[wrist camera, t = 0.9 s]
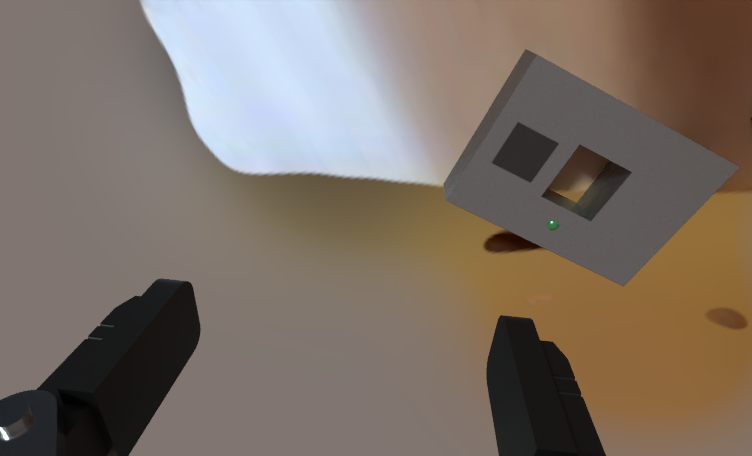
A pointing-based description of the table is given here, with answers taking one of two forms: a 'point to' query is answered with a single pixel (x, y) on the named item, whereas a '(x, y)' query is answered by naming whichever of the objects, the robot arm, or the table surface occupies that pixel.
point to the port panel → (606, 194)
